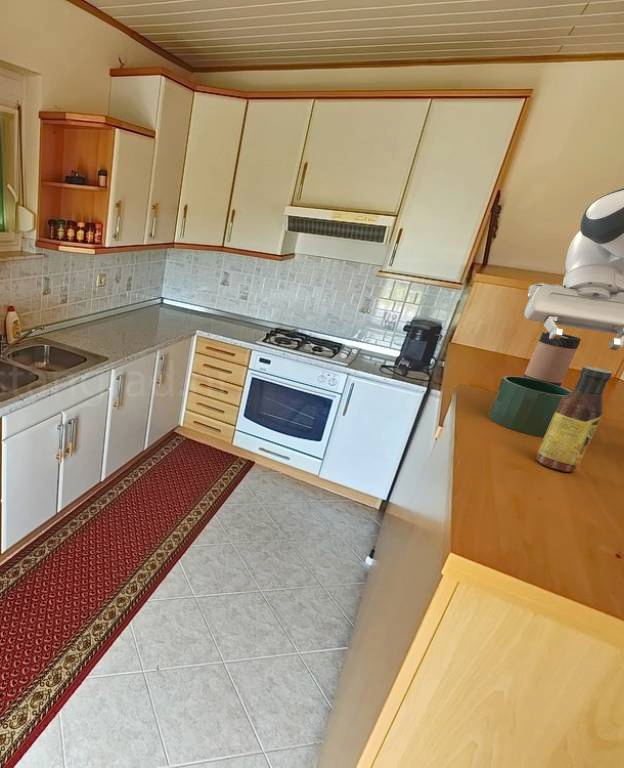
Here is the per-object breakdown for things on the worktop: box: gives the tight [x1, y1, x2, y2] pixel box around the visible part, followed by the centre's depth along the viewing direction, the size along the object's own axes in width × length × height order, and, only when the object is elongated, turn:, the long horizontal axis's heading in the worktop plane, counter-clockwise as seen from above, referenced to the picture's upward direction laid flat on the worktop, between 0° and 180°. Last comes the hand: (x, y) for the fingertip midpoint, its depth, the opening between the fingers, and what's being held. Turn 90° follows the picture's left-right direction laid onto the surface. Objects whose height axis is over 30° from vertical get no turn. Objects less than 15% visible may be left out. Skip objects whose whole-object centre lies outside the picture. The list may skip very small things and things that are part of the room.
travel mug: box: [522, 331, 582, 387], centre depth 125 cm, size 8×8×20 cm
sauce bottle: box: [536, 366, 613, 473], centre depth 92 cm, size 7×6×20 cm
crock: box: [487, 375, 573, 438], centre depth 114 cm, size 13×13×10 cm
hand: (585, 343), depth 98 cm, fingers open, 8 cm apart
